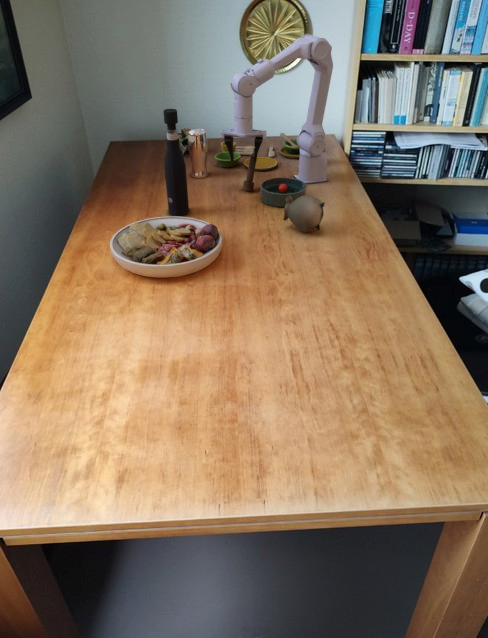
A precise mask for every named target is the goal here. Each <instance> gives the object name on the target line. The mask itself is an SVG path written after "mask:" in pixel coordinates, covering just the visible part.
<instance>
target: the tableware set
mask: <svg viewBox="0 0 488 638" xmlns="http://www.w3.org/2000/svg"><path fill="white" fill-rule="evenodd" d="M279 136H280V137H281V138H282V139H284V140H285V141H283V143H282V145H283V146H282V147H281V148H280V149H279V153H280V154H281V155H282V156H283V157H285V158H289V159H299V158H300V148H299V147H298V145H297V138H296V139H290V138H289V137H288V135H286V134H285V133H284V132H280V133H279ZM220 149H221V151H220V152H217V153H215V155H214V156H213V158H214V159H215V160H216V162H217V163H218V165H219V166H220V167H222V168H234V167H236V166H237V164H238V162H239V160H240V159H241V158H242V156H251V155H254V153H255V145H254V146H253V145H247V146H237V142H236V141H233V153H234V160H233V161H231V158H230V154H229V151H228V148H227V146H226V144H225V142H224V141H222V142H220ZM323 152H324V153H325V154H326V148H325V149H324V151H323ZM275 155H276V151H274V146H269V148H268V154H267V156H257V161H256V166H255V171H263V172H264V171H269V170H273V169H274V168H276V167H277V165H278V164H279V162H278V160H277V159H275ZM249 162H250V157H249V158H247V159H245V160H244V161H243V165H244V166H245V167H246V168H247V169H248V168H249Z"/></svg>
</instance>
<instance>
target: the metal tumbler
mask: <svg viewBox="0 0 488 638" xmlns="http://www.w3.org/2000/svg"><path fill="white" fill-rule="evenodd" d="M187 150H188V154H189V159H190V164H191V172H190V176H191V177H192V178H195V179H203V178H206V177H208V176H209V172H208V166H207V161H208V160H207V159H208V151H209V143H208V133H207V130H206V129H203V128H194V129H191V130H189V131H188V148H187Z"/></svg>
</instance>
